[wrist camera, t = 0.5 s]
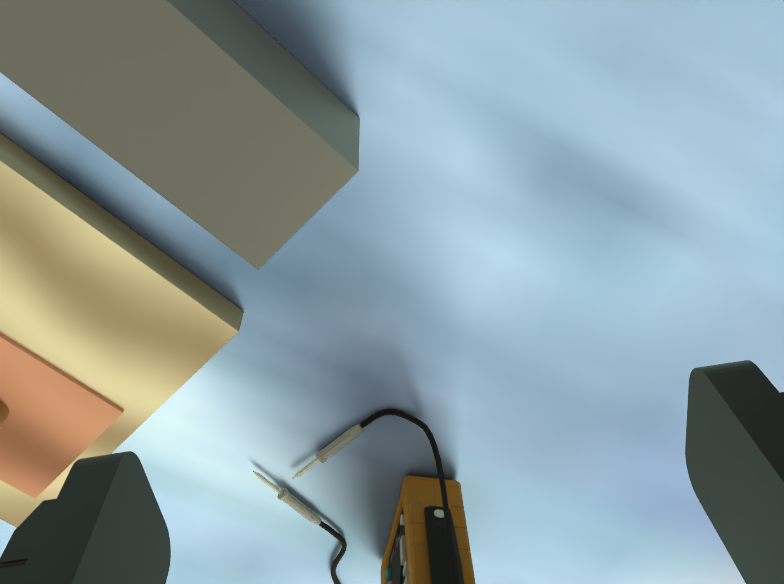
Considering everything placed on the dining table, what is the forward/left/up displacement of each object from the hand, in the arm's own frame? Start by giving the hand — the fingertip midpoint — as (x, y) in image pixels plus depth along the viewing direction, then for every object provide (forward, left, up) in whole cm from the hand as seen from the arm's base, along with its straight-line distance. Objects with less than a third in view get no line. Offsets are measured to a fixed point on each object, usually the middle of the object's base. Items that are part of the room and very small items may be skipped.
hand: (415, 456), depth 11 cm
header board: (+19, -5, -18) cm, 27 cm away
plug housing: (+4, -5, -18) cm, 20 cm away
